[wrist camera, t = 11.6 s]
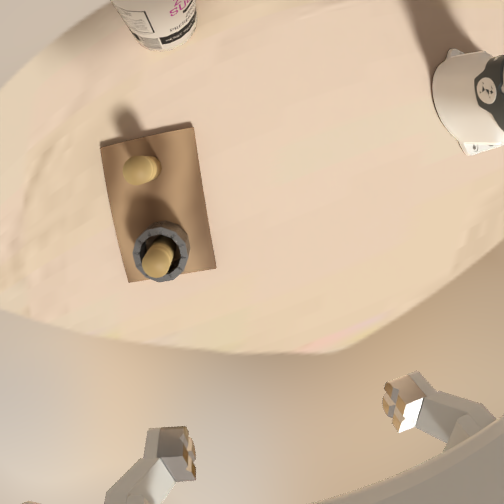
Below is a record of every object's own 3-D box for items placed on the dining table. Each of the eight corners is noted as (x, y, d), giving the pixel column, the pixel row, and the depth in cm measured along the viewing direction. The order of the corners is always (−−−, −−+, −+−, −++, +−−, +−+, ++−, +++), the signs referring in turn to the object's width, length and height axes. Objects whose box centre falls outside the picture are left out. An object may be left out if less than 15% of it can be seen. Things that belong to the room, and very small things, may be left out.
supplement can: (135, 8, 30) (105, -49, 16) (196, -2, 31) (191, -66, 16) (135, 58, 32) (99, 11, 18) (199, 47, 33) (193, -8, 19)
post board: (193, 127, 36) (189, 120, 28) (216, 265, 41) (217, 290, 34) (102, 147, 35) (78, 146, 27) (130, 279, 41) (114, 305, 33)
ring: (184, 216, 38) (181, 223, 34) (194, 265, 40) (192, 276, 36) (135, 226, 38) (127, 233, 34) (146, 273, 40) (140, 285, 36)
